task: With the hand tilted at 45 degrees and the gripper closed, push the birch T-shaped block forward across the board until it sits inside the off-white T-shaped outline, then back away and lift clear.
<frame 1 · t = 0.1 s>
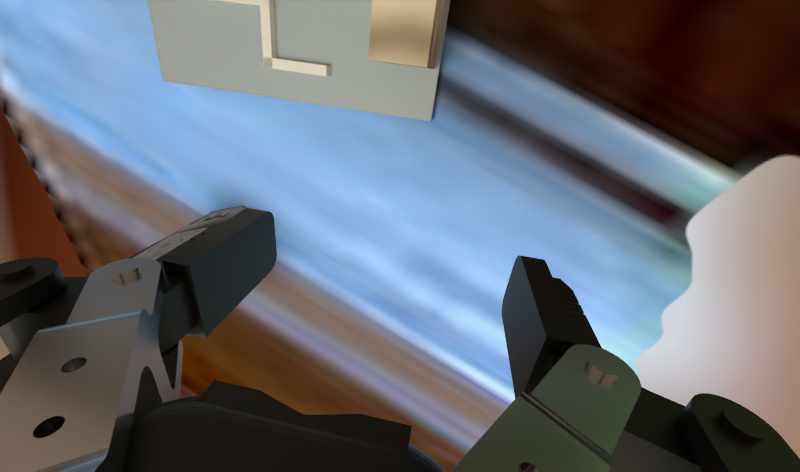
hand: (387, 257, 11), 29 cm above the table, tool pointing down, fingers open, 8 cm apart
coffee box: (241, 236, 48), on the table
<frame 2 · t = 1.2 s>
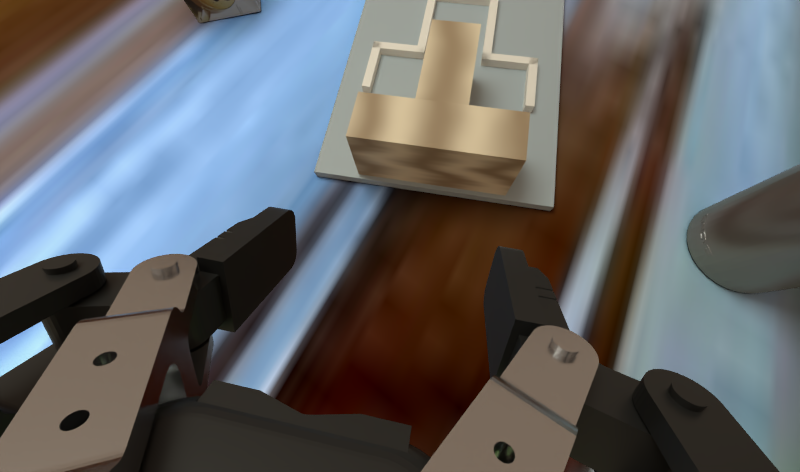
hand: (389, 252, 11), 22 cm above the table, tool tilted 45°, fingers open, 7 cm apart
target board: (449, 78, 41), on the table
coffee box: (230, 4, 47), on the table
t block: (440, 126, 38), point 1 cm above the table, touching target board
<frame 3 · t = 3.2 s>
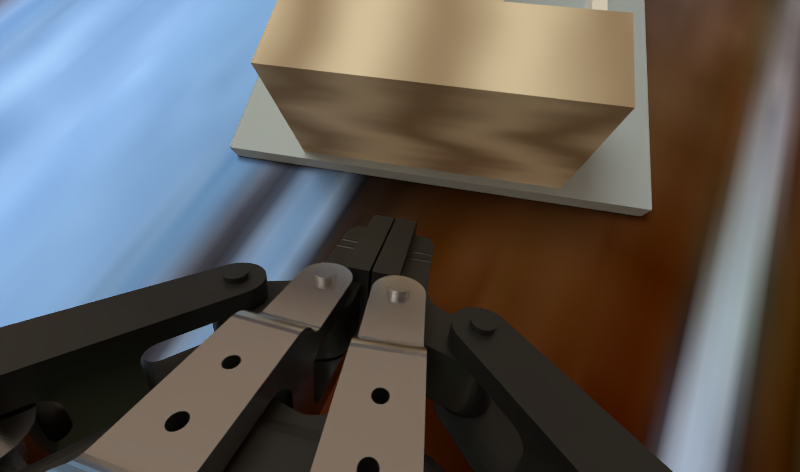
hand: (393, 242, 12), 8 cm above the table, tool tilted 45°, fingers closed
target board: (460, 2, 26), on the table
t block: (445, 73, 22), point 1 cm above the table, touching target board
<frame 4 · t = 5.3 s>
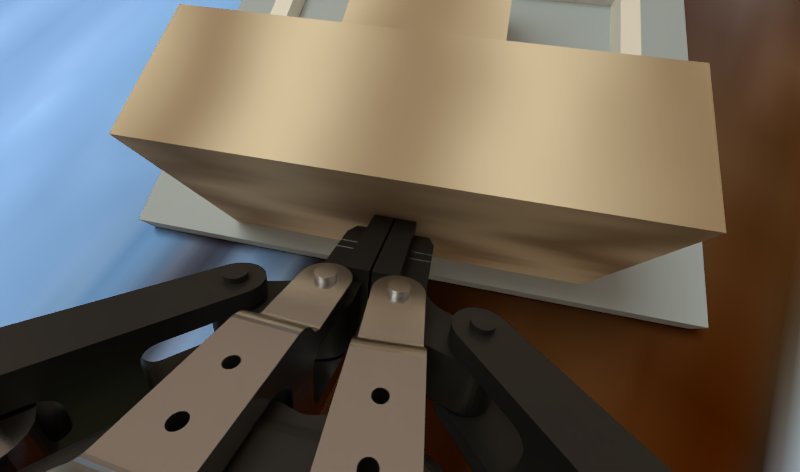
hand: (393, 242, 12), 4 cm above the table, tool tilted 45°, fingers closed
target board: (450, 24, 20), on the table
t block: (428, 115, 17), point 1 cm above the table, touching gripper
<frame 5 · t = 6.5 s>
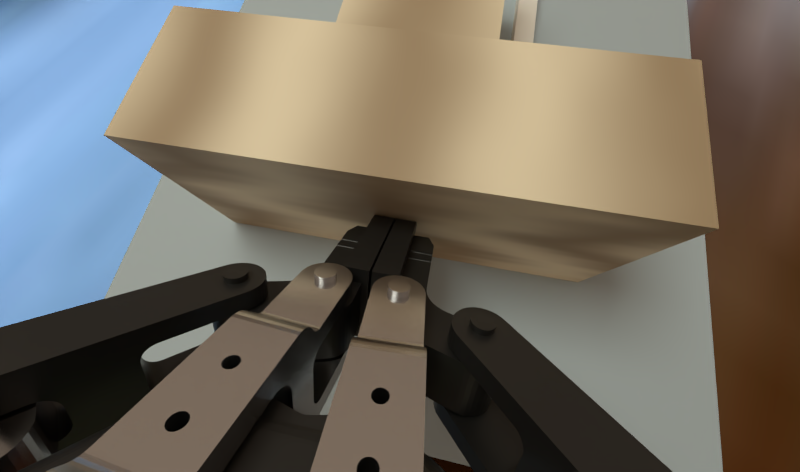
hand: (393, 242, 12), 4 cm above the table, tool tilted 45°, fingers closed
target board: (433, 116, 18), on the table
t block: (424, 115, 17), point 1 cm above the table, touching gripper, target board
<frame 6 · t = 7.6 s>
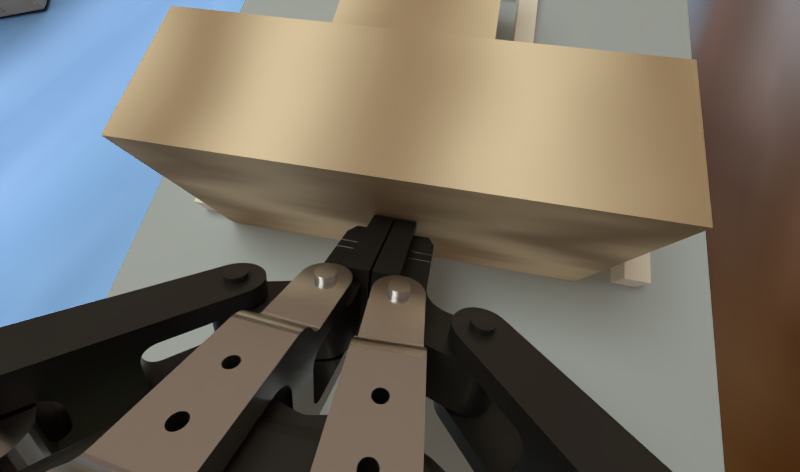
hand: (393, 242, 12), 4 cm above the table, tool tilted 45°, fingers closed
target board: (422, 170, 17), on the table
t block: (422, 114, 17), point 1 cm above the table, touching gripper, target board
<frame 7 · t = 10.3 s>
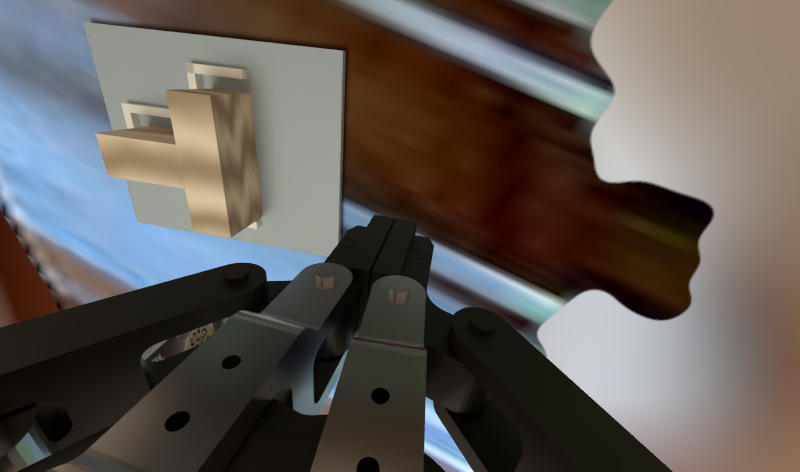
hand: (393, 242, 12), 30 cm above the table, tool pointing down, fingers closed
target board: (227, 149, 44), on the table
coffee box: (205, 326, 59), on the table
t block: (203, 152, 43), point 1 cm above the table, touching target board
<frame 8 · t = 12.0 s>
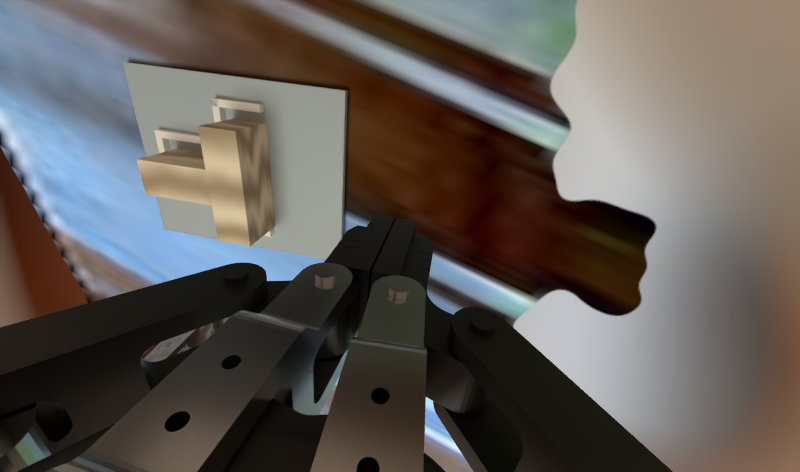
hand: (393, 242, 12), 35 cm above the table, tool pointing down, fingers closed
target board: (244, 169, 51), on the table
coffee box: (222, 320, 67), on the table
t block: (224, 171, 50), point 1 cm above the table, touching target board
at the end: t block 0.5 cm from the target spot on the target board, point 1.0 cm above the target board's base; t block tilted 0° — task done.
